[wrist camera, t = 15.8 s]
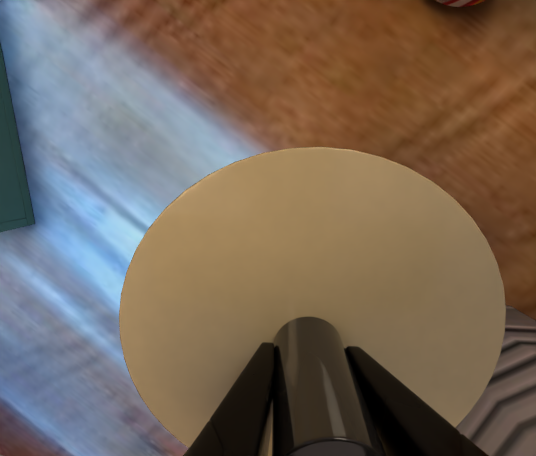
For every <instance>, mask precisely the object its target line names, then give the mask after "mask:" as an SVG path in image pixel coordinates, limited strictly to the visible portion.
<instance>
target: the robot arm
mask: <svg viewBox="0 0 536 456" xmlns="http://www.w3.org/2000/svg"><path fill="white" fill-rule="evenodd" d="M346 352H347V355H348V357H349V360H350V362H351V365H352V368H353V370H354V373H355V375H356V378H357V380H358V383H359V386H360V388H361V391H362V393H363V396H364V399H365V401H366V404H367V406H368V409H369V411H370V414H371V417H372V419H373V422H374V424H375V427H376V429H377V432H378V435H379V437H380V440H381V442H382V445H383V447H384V450H385V453H386V455H387V456H489V455H487V454H486V453H485V452H484V451H483V450H481V449H480V448H479V447H478V446H477V445H475V444H474V443H473V442H472V441H471V440H469V439H468V438H467V437H466V436H465V435H463V434H460V432H459V430H457V429H456V428H455V427H454V426H453V425H451V424H450V423H449V422H448V421H447V420H446V419H444V418H443V417H442V416H441V415H440V414H438V413H437V412H436V411H435V410H434V409H433V408H431V407H430V406H429V405H428V404H427V403H425V402H424V401H423V400H422V399H421V398H419V397H418V396H417V395H416V394H415V393H414V392H412V391H411V390H410V389H409V388H408V387H406V386H405V385H404V384H403V383H402V382H401V381H399V380H398V379H397V378H396V377H395V376H393V375H392V374H391V373H390V372H389V371H388V370H386V369H385V368H384V367H383V366H382V365H380V364H379V363H378V362H377V361H376V360H374V359H373V358H372V357H371V356H370V355H369V354H367V353H366V352H365V351H364V350H363V349H361V348H360V347H358V346H347V347H346ZM273 385H274V343H270V342H263V343H261V345H260V346H259V348H258V349H257V350H256V352H255V353H254V355H253V356H252V358H251V359H250V361H249V362H248V364H247V365H246V367H245V368H244V369H243V371H242V372H241V374H240V375H239V377H238V378H237V380H236V381H235V383H234V384H233V386H232V387H231V389H230V390H229V391H228V393H227V394H226V396H225V397H224V399H223V400H222V402H221V403H220V405H219V406H218V408H217V409H216V410H215V412H214V413H213V415H212V416H211V418H210V421H208V422H207V423H206V425H205V426H204V428H203V429H202V431H201V432H200V434H199V435H198V436H197V438H196V439H195V441H194V442H193V443H192V445H191V446H190V447H189V449H188V450H187V452H186V453H185V454H184V455H183V456H268V450H269V442H270V434H271V425H272V409H273Z"/></svg>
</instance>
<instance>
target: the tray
mask: <svg viewBox="0 0 536 456" xmlns="http://www.w3.org/2000/svg"><path fill="white" fill-rule="evenodd" d="M32 224H35V221H34V216H33V211H32V205H31V200H30V195H29V190H28V185H27V179H26V174H25V169H24V164H23V159H22V153H21V148H20V143H19V138H18V133H17V128H16V122H15V117H14V112H13V107H12V102H11V96H10V91H9V86H8V81H7V76H6V70H5V65H4V60H3V55H2V50H1V44H0V232H3V231H7V230H12V229H16V228H20V227H24V226H28V225H32Z"/></svg>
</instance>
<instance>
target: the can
mask: <svg viewBox="0 0 536 456" xmlns="http://www.w3.org/2000/svg"><path fill="white" fill-rule="evenodd" d="M456 429H457V430H459V432H460V434H463V435H465V436H466V437H467V438H468V439H469V440H471V441H472V442H473V443H474V444H475V445H477V446H478V447H479V448H480V449H481V450H483V451H484V452H485V453H486V454H487V455H489V456H536V321H535V320H534V319H532V318H530V317H528V316H527V315H525V314H523V313H522V312H520V311H518V310H517V309H515V308H513V307H512V306H506V320H505V334H504V339H503V344H502V348H501V353H500V356H499V359H498V362H497V365H496V367H495V370H494V373H493V376H492V377H491V379H490V381H489V383H488V385H487V387H486V389H485V391H484V392H483V394H482V396H481V397H480V399H479V400H478V401H477V403H476V404H475V406H474V407H473V408H472V410H471V411H470V413H469V414H468V415H467V416H466V417H465V418H464V419H463V420H462V421H461V422H460V423H459V425H458V426H457V427H456Z"/></svg>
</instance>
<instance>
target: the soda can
mask: <svg viewBox="0 0 536 456" xmlns="http://www.w3.org/2000/svg"><path fill="white" fill-rule="evenodd" d="M435 1H437V2H439V3H441V4H444V5H448V6H453V7H465V6H471V5H475V4H478V3H481V2H483V1H485V0H435Z"/></svg>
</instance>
